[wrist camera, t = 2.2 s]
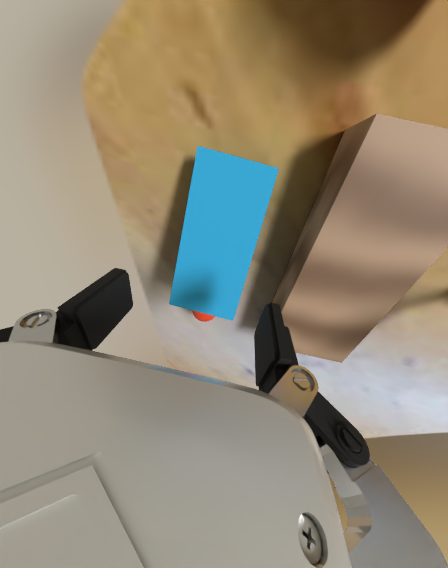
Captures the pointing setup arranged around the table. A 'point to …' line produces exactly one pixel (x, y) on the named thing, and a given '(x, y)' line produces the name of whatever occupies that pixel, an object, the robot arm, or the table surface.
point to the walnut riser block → (366, 234)
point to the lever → (220, 232)
